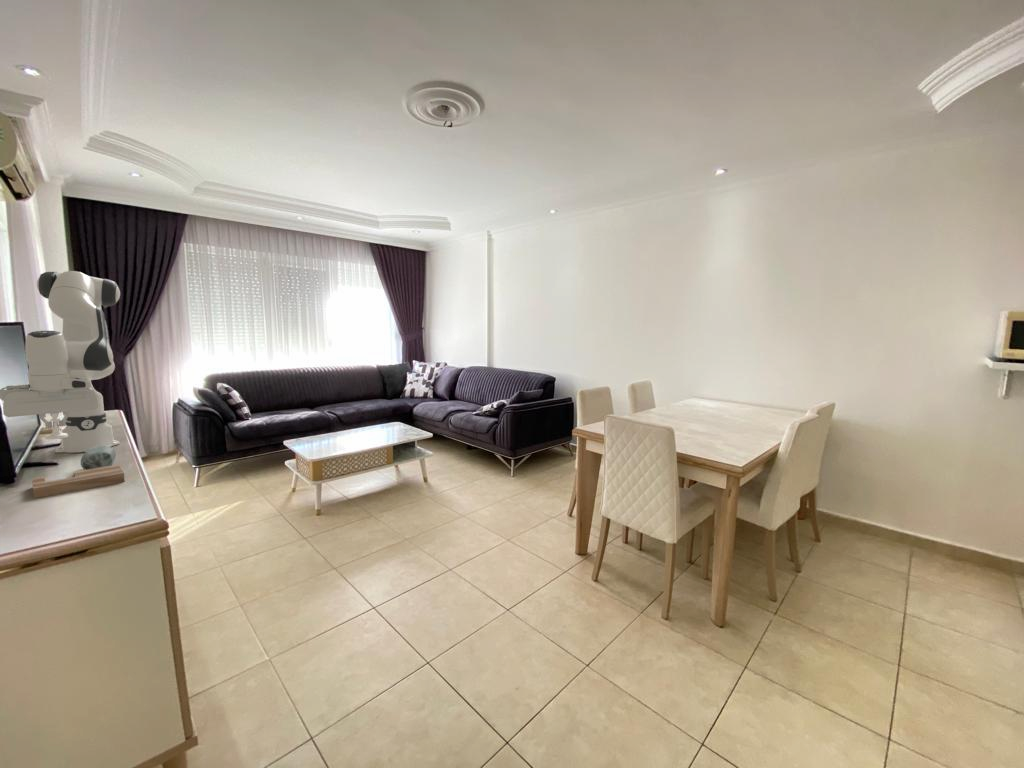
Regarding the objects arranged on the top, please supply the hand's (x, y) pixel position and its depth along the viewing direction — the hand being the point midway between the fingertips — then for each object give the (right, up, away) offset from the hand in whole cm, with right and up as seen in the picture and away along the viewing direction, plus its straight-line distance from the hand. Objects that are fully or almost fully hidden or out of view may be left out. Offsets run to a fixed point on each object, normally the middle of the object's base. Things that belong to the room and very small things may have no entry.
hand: (55, 426), depth 132 cm
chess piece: (0, -4, 0) cm, 4 cm away
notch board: (+4, -19, +4) cm, 20 cm away
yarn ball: (-4, -17, +18) cm, 25 cm away
